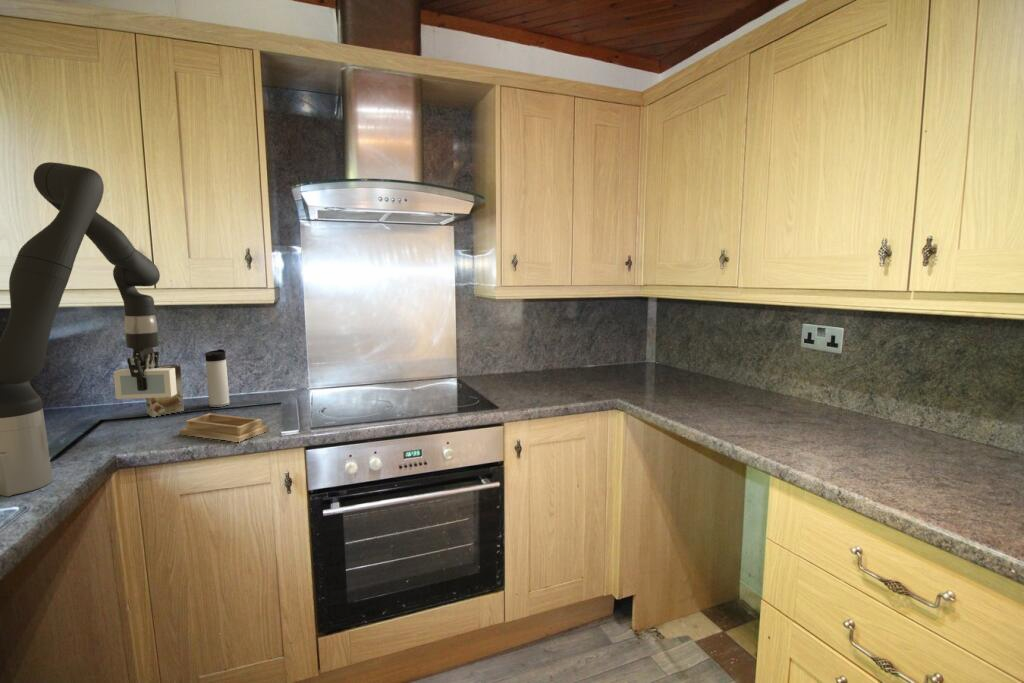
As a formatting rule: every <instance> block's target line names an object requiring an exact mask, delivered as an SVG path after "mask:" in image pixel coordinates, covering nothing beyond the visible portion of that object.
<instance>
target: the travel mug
mask: <svg viewBox="0 0 1024 683" xmlns="http://www.w3.org/2000/svg"><path fill="white" fill-rule="evenodd" d="M204 357H205V369H206V370H205V371H206V383H207V393H208V394H207V396H208V405H209V406H210V407H209V408H211V407H221V408H224V407H223V406H226V405H228V406H230V393H229V392H230V391H229V380H228V367H227V357H226V350H225V349H222V348H221V349H220V348H218V349H217V350H209V351H207V352H204ZM226 407H227V406H226Z"/></svg>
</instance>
